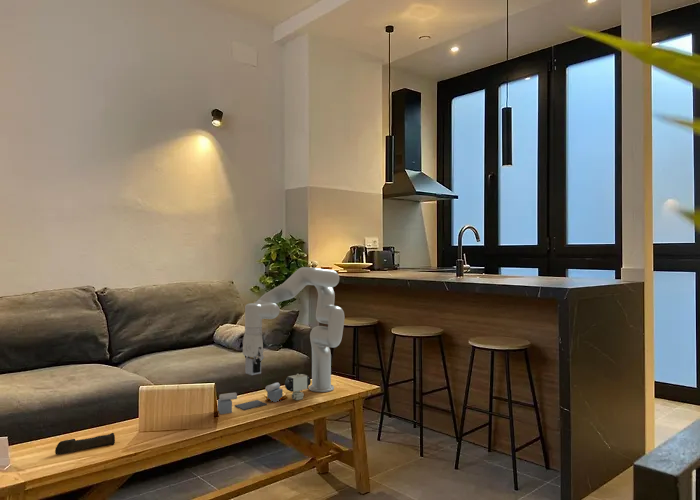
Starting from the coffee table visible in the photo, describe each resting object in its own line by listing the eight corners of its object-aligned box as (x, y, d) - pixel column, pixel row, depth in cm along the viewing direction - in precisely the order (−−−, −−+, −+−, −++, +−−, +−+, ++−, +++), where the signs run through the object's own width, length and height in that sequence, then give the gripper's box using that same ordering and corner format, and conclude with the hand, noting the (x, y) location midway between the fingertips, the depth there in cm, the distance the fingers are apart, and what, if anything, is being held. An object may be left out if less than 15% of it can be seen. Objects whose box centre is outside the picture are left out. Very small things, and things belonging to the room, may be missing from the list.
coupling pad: (257, 401, 245) (257, 399, 245) (267, 405, 239) (267, 403, 239) (234, 406, 237) (234, 405, 237) (243, 410, 231) (243, 409, 231)
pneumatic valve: (310, 398, 250) (310, 372, 250) (289, 402, 242) (289, 376, 242) (304, 395, 254) (304, 370, 254) (283, 399, 247) (283, 374, 247)
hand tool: (113, 442, 195) (113, 429, 195) (115, 445, 191) (115, 432, 191) (54, 453, 184) (54, 440, 184) (55, 457, 181) (55, 443, 181)
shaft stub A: (274, 397, 250) (274, 381, 250) (282, 399, 247) (282, 382, 247) (263, 401, 244) (263, 385, 244) (271, 403, 241) (271, 386, 241)
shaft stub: (234, 408, 234) (234, 391, 234) (237, 411, 229) (237, 393, 229) (217, 411, 230) (217, 393, 230) (220, 414, 226) (220, 396, 226)
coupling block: (254, 371, 241) (254, 354, 241) (261, 373, 237) (261, 356, 237) (245, 373, 237) (245, 356, 237) (251, 375, 234) (251, 358, 234)
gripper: (235, 329, 241) (235, 369, 241) (257, 334, 229) (257, 376, 229) (249, 328, 246) (249, 367, 246) (271, 332, 234) (271, 373, 234)
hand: (253, 371), depth 237 cm, fingers closed on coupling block, 5 cm apart
